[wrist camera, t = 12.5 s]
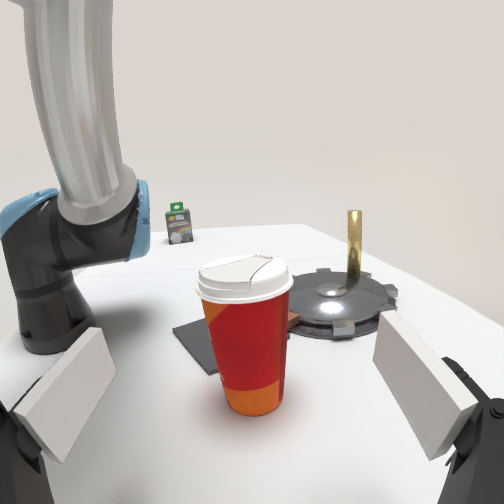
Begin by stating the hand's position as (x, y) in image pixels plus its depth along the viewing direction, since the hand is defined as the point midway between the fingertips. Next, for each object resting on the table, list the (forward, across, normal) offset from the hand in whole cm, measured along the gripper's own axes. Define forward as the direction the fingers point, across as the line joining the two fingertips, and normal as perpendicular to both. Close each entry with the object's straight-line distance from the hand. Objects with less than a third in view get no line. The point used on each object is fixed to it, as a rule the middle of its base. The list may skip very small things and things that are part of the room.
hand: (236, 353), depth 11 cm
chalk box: (+90, -28, -12) cm, 95 cm away
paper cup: (+10, 0, -13) cm, 17 cm away
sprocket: (+30, +13, -13) cm, 35 cm away
